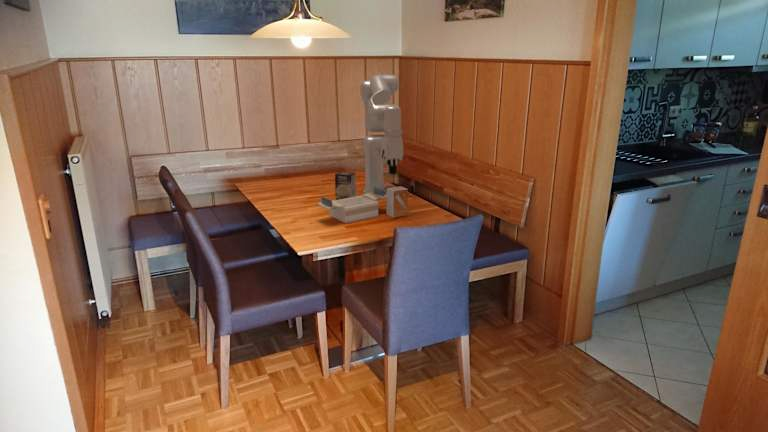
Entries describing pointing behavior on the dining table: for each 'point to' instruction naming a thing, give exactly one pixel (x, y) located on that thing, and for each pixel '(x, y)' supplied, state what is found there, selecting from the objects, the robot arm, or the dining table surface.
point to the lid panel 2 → (376, 194)
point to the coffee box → (345, 185)
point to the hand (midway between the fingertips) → (392, 173)
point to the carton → (355, 209)
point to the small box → (397, 201)
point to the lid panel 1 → (329, 204)
